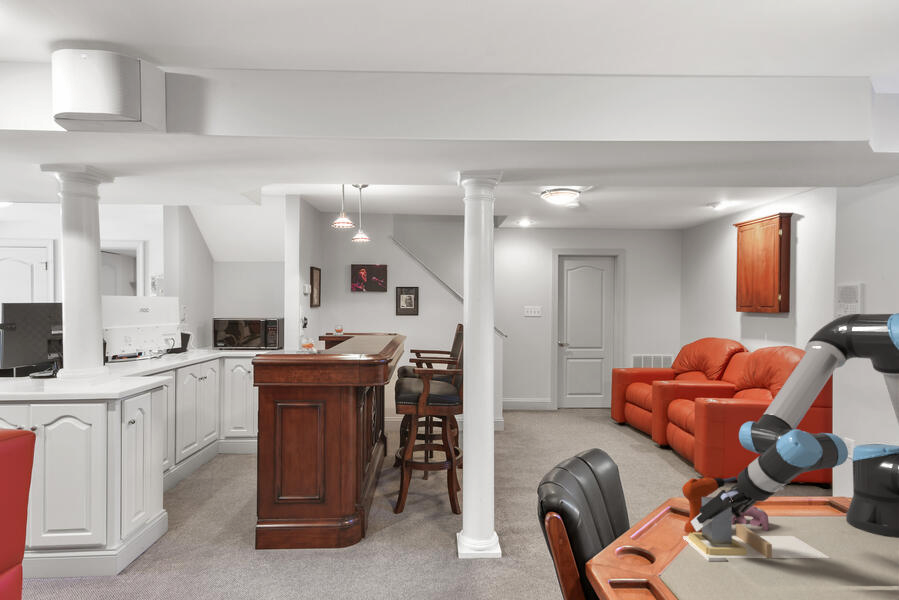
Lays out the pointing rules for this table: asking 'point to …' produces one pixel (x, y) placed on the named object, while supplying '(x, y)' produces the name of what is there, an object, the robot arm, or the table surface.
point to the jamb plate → (752, 546)
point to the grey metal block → (718, 526)
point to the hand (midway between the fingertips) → (704, 524)
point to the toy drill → (700, 495)
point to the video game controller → (754, 517)
